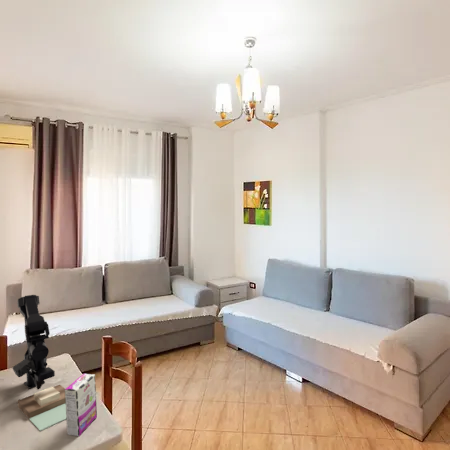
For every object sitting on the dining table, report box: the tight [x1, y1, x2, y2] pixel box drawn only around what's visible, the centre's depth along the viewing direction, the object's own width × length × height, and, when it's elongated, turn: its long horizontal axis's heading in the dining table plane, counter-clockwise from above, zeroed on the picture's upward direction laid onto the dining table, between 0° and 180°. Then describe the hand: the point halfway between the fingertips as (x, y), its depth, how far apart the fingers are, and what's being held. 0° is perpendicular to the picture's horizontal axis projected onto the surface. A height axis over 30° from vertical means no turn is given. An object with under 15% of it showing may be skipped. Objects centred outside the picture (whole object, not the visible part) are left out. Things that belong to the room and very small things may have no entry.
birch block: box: [33, 386, 60, 406], centre depth 137 cm, size 7×7×2 cm
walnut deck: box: [17, 384, 66, 419], centre depth 138 cm, size 12×16×2 cm
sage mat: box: [29, 403, 67, 432], centre depth 131 cm, size 10×16×1 cm, turn 138°
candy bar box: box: [65, 373, 98, 437], centre depth 124 cm, size 11×5×16 cm, turn 168°
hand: (38, 388), depth 142 cm, fingers closed
